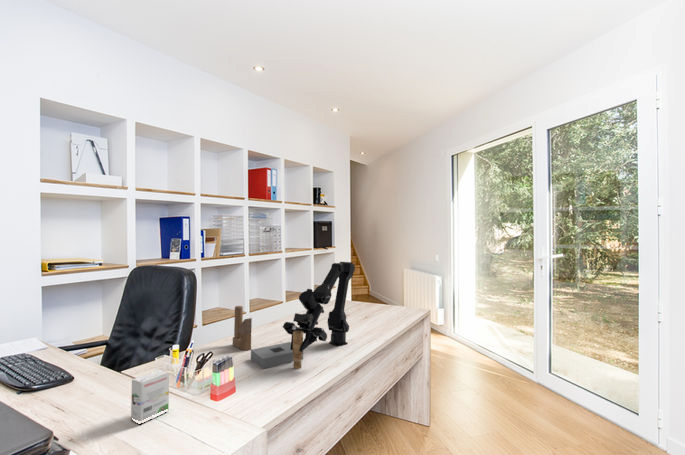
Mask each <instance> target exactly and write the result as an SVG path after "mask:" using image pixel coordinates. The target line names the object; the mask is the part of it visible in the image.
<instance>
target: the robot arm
mask: <svg viewBox="0 0 685 455" xmlns="http://www.w3.org/2000/svg"><path fill="white" fill-rule="evenodd" d="M355 269H356V266H355V264H354V263H353V262H351V261H340V262H333V263H332V264H331V268H330V270H329V271H328V273H327V274H326V276H325V278H324V279H323V282H322V283H321V284H320V285H318V286H317V287H316V288H315V289H314V290H313V289H312V288H307V289H306V290H305V291H302V292H301V293H299V296H298V301H299V302H300V304H301V305H302V306H303V308H304V309H305V310H306V312H305V313H303V314H302V313H295V314H294V316H293V322H292V321H291V322H290V321H285V322H284V324H283V325H282V328H283V329H284V330H285V332H286V333H287V334H288V335H291V341H290V342H291V347H290V349H291V350H293V331H297V330H300V331H303V334H305V336H304V338H303V343H302V345H301V348H300V352H302V351H303V352H304V351H305V350H306V349H308V347H309V346H310V345H312V344H313V343H315V342H318V341H321V342H326V341H327V338H328V334H327V332H326V331H325V329H324V328H322V327H317V326H318V324H319V322H318V320H319V318H320V316H321V314H325V310H324V306H322V305H328V304H329V303H330V302H331V298H332V290H333V288H334V286H335V284H336V282H337V280H338V283H337V289H336V293H335V294H336V295H335V301H334V307H333V309H332V310H331V311H329V312H328V317H327V321H326V322H327V328H328V330H329V331H331V334H330V341H329V344H331V345H334V346H335V347H340V346H344V345H348V342H347V340H346V339H347V337H346V336H347V334H346V333H349V331H350V325H349V323H348V321H347V315H346V312H345V306H346V301H347V294H348V288H349V282H350V280H351V279H352V278H353V277H354V272H355ZM295 323H296V324H297V325H296V324H295Z"/></svg>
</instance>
